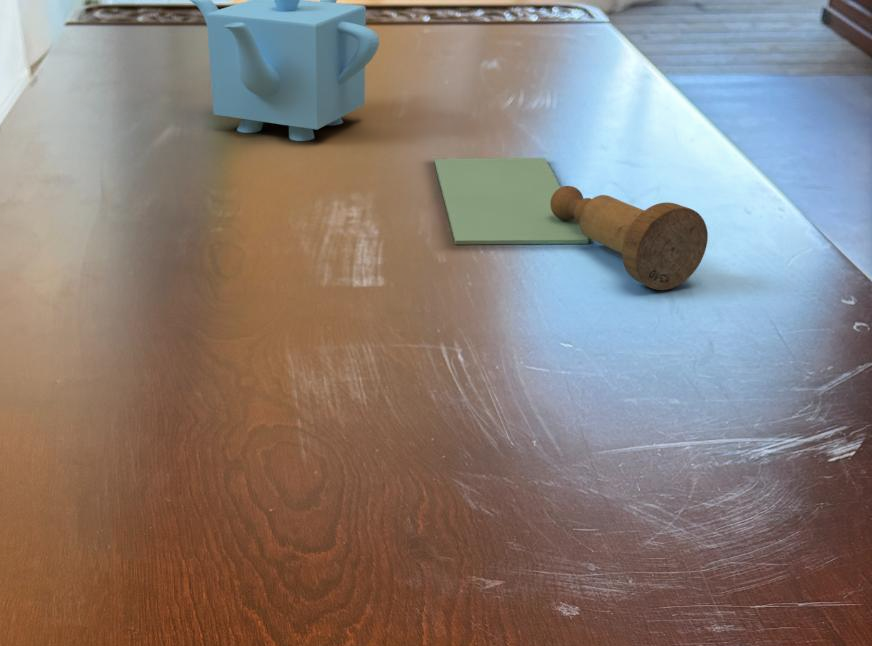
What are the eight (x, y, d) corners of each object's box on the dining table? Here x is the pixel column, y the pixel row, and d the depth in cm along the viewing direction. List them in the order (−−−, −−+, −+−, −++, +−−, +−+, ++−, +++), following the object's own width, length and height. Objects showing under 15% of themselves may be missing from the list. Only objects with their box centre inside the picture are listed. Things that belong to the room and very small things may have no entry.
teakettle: (387, 140, 120) (391, -3, 111) (228, 155, 115) (219, 8, 106) (337, 99, 134) (338, -29, 125) (195, 111, 130) (184, -21, 121)
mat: (544, 161, 113) (545, 157, 113) (588, 243, 94) (589, 239, 93) (434, 162, 113) (434, 158, 113) (455, 244, 94) (455, 240, 93)
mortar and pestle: (720, 249, 85) (601, 199, 99) (688, 190, 81) (569, 147, 95) (658, 306, 85) (549, 248, 100) (623, 251, 82) (515, 199, 96)
